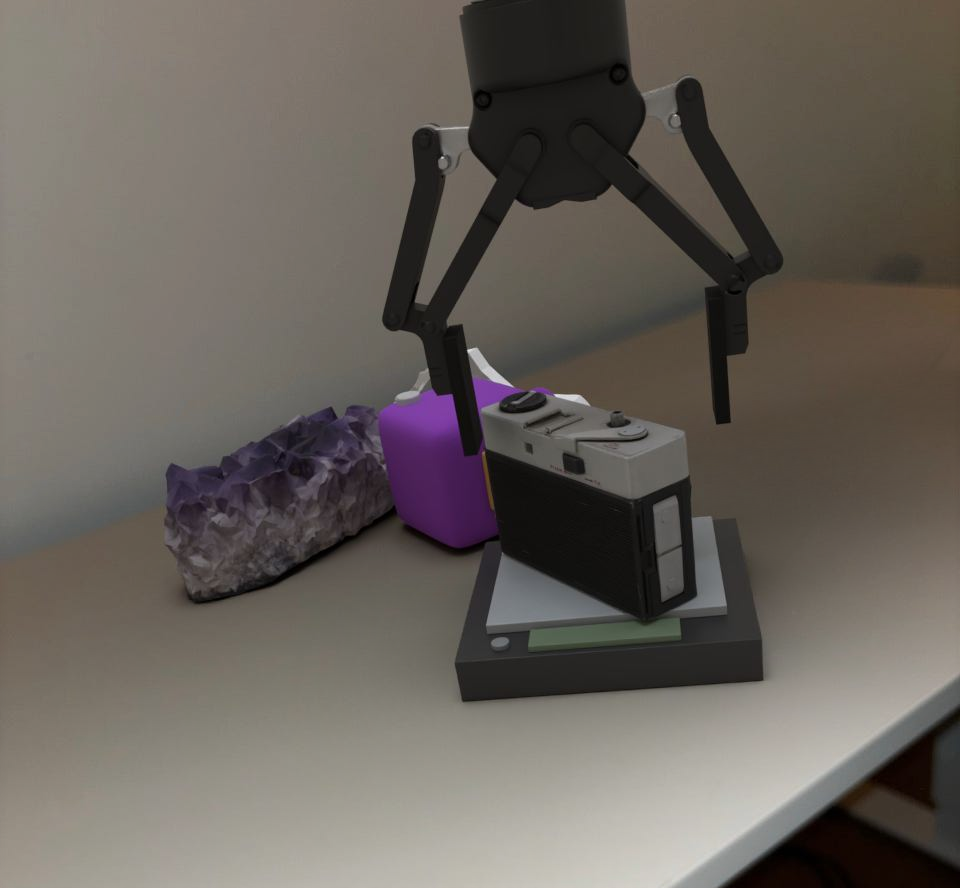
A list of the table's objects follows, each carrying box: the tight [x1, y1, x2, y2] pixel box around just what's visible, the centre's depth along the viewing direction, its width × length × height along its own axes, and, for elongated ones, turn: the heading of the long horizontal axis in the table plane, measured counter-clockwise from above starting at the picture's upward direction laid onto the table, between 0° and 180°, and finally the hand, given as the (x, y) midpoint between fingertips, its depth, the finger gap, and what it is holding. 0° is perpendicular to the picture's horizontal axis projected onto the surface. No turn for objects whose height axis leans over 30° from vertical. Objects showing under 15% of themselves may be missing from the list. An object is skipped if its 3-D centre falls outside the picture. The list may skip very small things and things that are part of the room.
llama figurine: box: [393, 347, 591, 406], centre depth 94 cm, size 2×11×18 cm
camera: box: [480, 390, 697, 622], centre depth 60 cm, size 14×9×10 cm, turn 26°
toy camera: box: [378, 378, 556, 549], centre depth 77 cm, size 11×14×10 cm
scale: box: [454, 515, 764, 702], centre depth 62 cm, size 16×15×3 cm
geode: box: [163, 404, 395, 602], centre depth 79 cm, size 20×12×10 cm, turn 146°
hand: (595, 432), depth 58 cm, fingers open, 13 cm apart
